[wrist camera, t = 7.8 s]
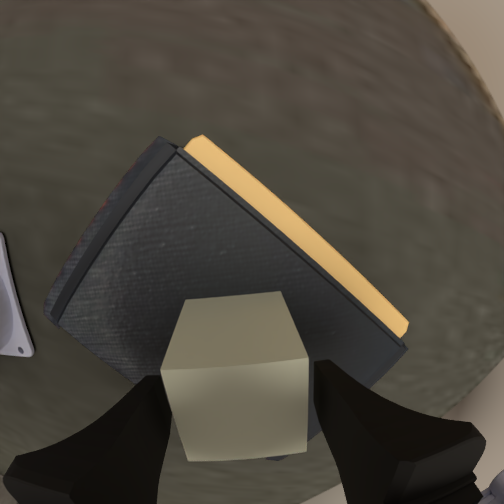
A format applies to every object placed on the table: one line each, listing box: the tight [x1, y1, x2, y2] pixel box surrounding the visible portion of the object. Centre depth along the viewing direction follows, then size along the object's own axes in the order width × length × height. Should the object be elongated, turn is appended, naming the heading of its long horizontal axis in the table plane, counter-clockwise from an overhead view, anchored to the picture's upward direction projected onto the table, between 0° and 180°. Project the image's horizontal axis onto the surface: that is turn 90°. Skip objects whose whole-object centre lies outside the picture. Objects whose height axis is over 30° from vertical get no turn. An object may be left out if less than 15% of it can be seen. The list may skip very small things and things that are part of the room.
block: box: [160, 291, 309, 461], centre depth 12 cm, size 4×4×6 cm
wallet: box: [44, 135, 409, 461], centre depth 16 cm, size 20×2×15 cm
